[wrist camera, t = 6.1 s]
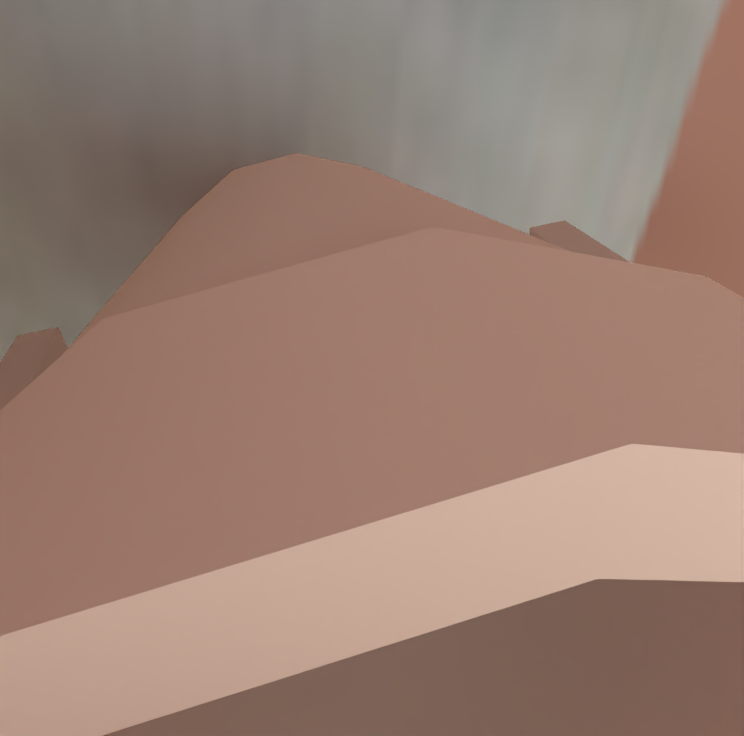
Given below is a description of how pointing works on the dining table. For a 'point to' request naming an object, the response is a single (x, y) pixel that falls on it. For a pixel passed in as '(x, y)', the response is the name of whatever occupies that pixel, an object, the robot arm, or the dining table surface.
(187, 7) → the dining table surface
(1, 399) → the robot arm
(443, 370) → the foam cup
